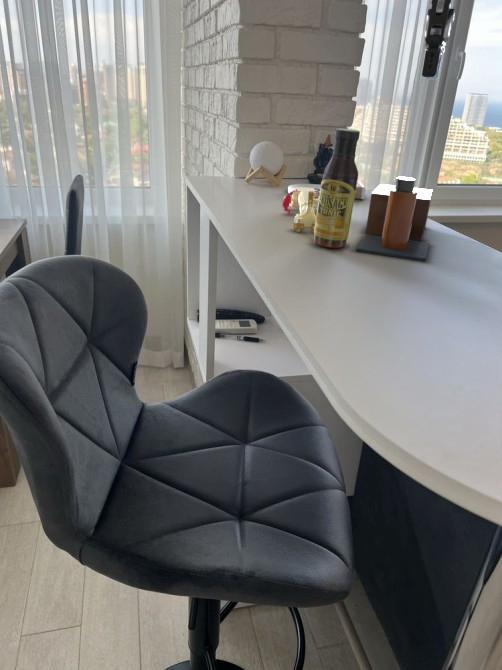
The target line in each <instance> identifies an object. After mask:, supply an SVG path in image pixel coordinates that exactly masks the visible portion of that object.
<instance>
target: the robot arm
mask: <svg viewBox="0 0 502 670" xmlns="http://www.w3.org/2000/svg"><path fill="white" fill-rule="evenodd" d="M452 1H453V0H431V3H430V4H431V7H430V8H428V9H427V15H426V26H425V31H424V32H425V33H424V37H425V38H424V41H425V43H424V48H425V54H424V59H423V65H422V71H421V76H422V77H423V78H425V79H427V80H437V79H438V78H439V75H440V70H441V69H440V68H441V63H442V58H443V55H444V52H445V50H446V47H447V44H446V43H447V42H448V41H449V39H450V34H451V29H452V25H453V23H454V20H455V13H456V8H451V7H452Z"/></svg>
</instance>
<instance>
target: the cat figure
mask: <svg viewBox="0 0 502 670" xmlns="http://www.w3.org/2000/svg"><path fill="white" fill-rule="evenodd" d="M316 192H317V190H314V188H306V187H294V188H293V191H292V192H290V193H288V194H286V195H284V196H283V200H282V202H281V206H282V207H283V209H284V211H285V212H287V214H288V215H290V216H293V213H291V209H290V208H291V207H292V208H295V209H299V213H296V214H295V215H294V222H293V225H292V229H293V230H295V232H296V233H301V231H302V230H305V228H310V230H311V231H314V229H315V222H316V215H317V214H315V212H316V211H315V209H317V208H318V206H317V205H315V204H318V202H319V197H315V195H316ZM318 194H319V195H320V193H319V192H318Z"/></svg>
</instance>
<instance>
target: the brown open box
mask: <svg viewBox="0 0 502 670" xmlns="http://www.w3.org/2000/svg"><path fill="white" fill-rule="evenodd" d="M391 188H395V185H392V184H381V183H380V184H379V185H377V186H376V188H374V190H373V191H372V192H371V194H370V200H369V207H368V213H367V220H366V227H365V234H368V235H375V236H382V233H383V227H384V221H385V215H386V209H387V204H388V198H389V192H390V189H391ZM414 190H416V191H418V194H417V200H416V205H415V210H414V215H413V220H412V226H411V231H410V236H409V240H411V241H418V242H423V237H424V232H425V229H426V225H427V221H428V217H429V211H430V206H431V202H432V197H433V191H434V190H433V189H427V188H418V187H414Z"/></svg>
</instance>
